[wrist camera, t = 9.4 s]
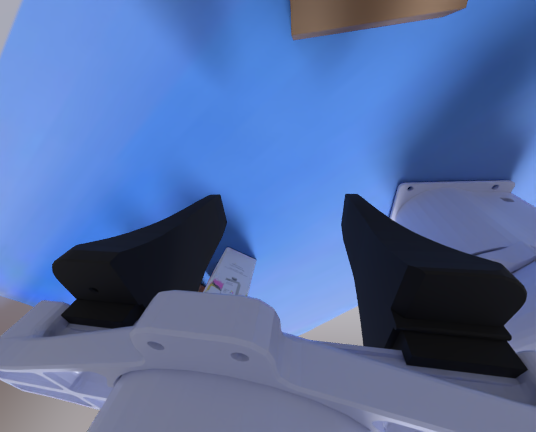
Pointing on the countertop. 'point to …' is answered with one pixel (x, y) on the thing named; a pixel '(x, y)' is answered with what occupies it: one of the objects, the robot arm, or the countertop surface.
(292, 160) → the countertop surface
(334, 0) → the walnut block
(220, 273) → the ink cartridge box
